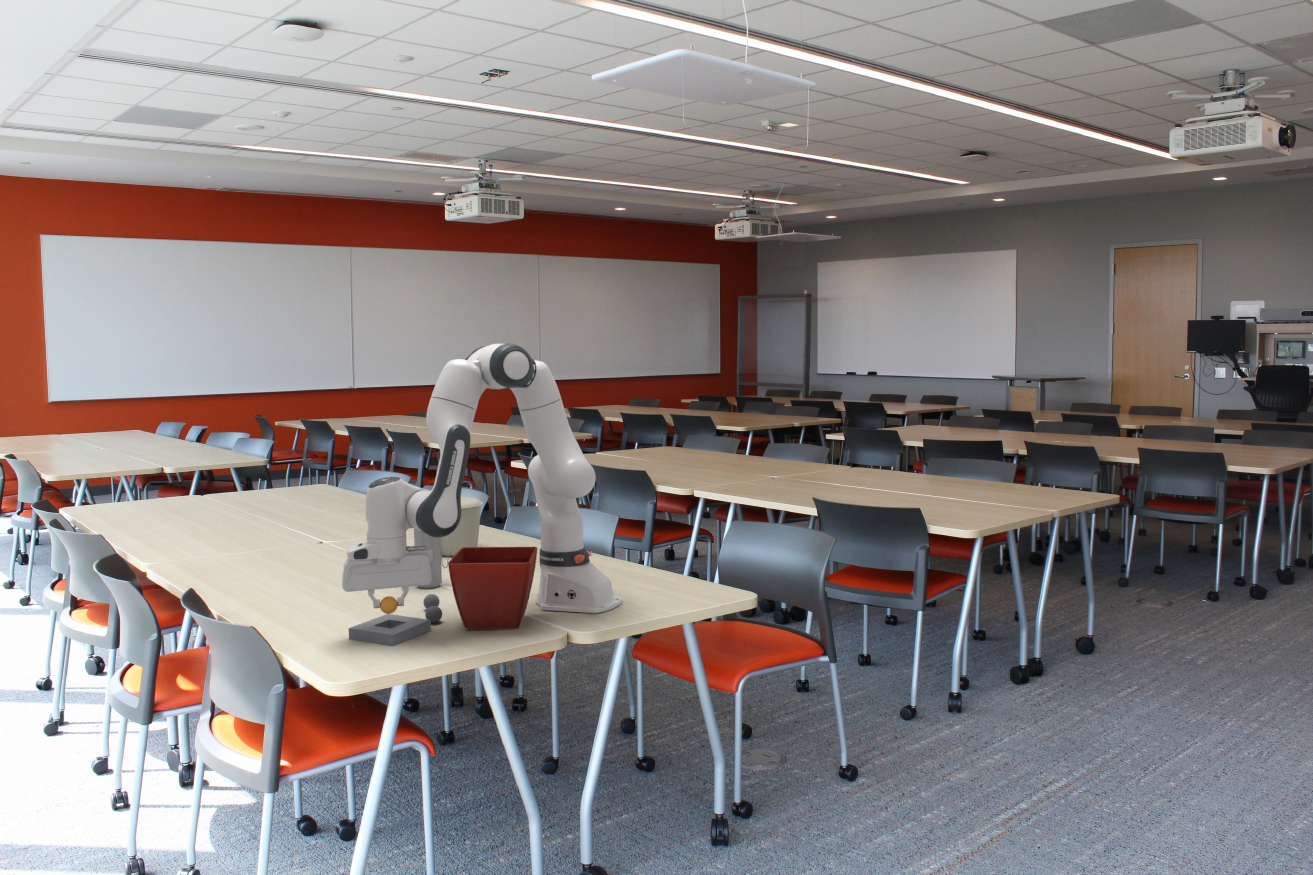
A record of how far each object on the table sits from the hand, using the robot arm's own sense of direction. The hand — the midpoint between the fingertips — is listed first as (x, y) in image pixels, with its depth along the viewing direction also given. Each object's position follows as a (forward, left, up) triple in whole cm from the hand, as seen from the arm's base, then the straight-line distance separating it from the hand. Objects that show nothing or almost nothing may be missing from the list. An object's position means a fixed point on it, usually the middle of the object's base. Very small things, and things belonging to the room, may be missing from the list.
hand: (388, 606), depth 218 cm
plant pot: (-17, -18, -7) cm, 26 cm away
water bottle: (+21, -41, -7) cm, 47 cm away
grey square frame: (0, 0, -7) cm, 7 cm away
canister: (+42, -79, -7) cm, 90 cm away
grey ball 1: (+5, -21, -5) cm, 22 cm away
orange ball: (0, 0, 0) cm, 0 cm away
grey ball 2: (-3, -12, -5) cm, 13 cm away
